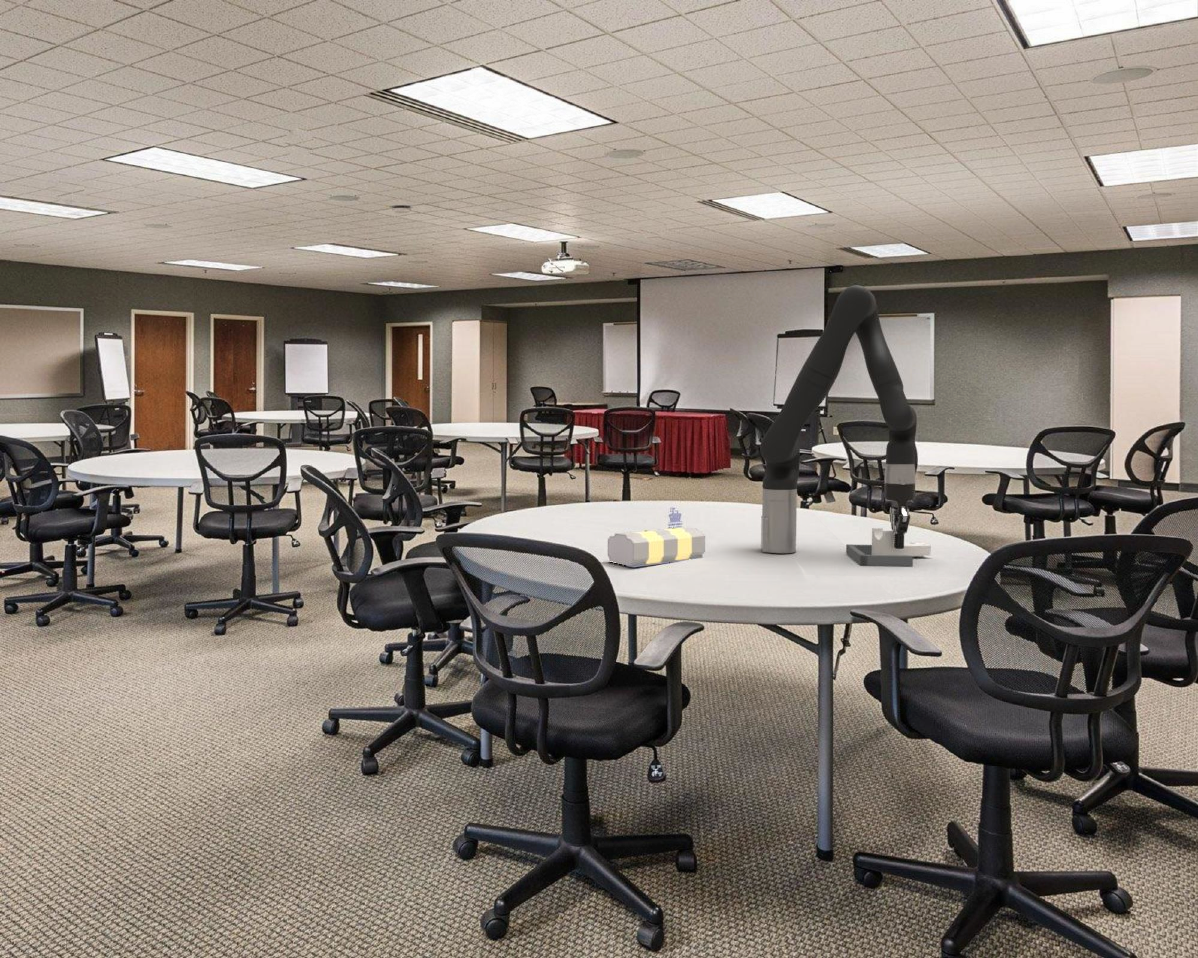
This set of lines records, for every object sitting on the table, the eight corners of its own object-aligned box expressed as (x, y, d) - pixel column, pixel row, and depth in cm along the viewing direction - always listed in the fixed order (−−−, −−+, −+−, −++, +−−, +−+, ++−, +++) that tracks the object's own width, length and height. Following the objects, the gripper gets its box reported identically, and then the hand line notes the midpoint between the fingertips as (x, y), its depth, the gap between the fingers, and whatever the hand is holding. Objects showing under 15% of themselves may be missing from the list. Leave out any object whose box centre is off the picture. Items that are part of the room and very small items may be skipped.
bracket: (884, 560, 235) (884, 531, 235) (871, 556, 242) (872, 528, 242) (930, 559, 237) (931, 530, 237) (916, 555, 244) (917, 527, 244)
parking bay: (860, 565, 225) (861, 555, 225) (846, 553, 246) (846, 544, 246) (912, 566, 224) (912, 556, 224) (893, 554, 245) (893, 545, 245)
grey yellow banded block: (678, 553, 248) (678, 506, 247) (705, 558, 240) (705, 508, 239) (607, 562, 233) (607, 511, 232) (633, 567, 225) (633, 514, 224)
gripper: (879, 480, 240) (878, 545, 241) (890, 483, 227) (889, 551, 228) (908, 480, 239) (907, 545, 240) (921, 483, 226) (920, 552, 227)
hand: (899, 548), depth 234 cm, fingers closed
